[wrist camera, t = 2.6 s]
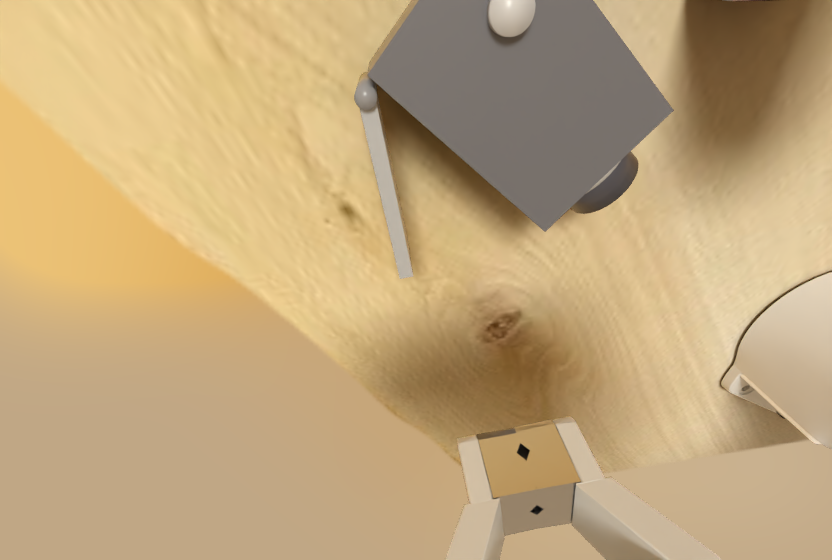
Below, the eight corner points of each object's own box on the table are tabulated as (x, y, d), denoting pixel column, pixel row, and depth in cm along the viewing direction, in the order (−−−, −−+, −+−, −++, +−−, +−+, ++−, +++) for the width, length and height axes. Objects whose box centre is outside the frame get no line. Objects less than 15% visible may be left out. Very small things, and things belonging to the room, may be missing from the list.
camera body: (623, 116, 25) (706, 146, 19) (529, 208, 28) (574, 261, 22) (465, -78, 20) (508, -129, 13) (368, 64, 23) (365, 78, 16)
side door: (408, 234, 28) (415, 279, 23) (394, 236, 28) (398, 282, 23) (374, 70, 22) (374, 83, 17) (357, 74, 22) (351, 87, 17)
